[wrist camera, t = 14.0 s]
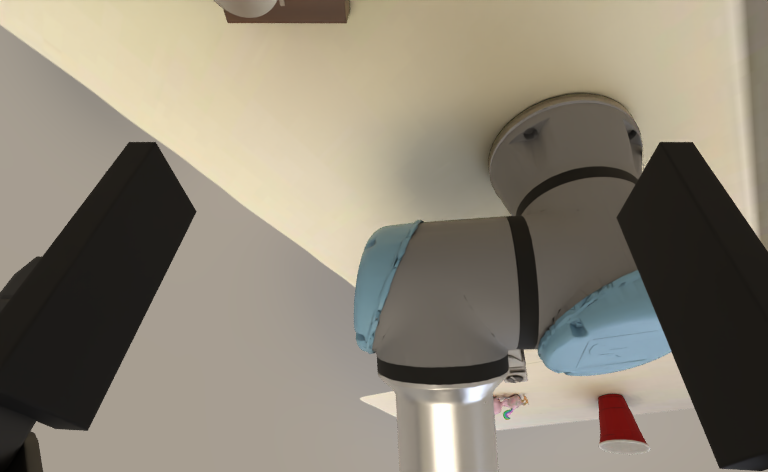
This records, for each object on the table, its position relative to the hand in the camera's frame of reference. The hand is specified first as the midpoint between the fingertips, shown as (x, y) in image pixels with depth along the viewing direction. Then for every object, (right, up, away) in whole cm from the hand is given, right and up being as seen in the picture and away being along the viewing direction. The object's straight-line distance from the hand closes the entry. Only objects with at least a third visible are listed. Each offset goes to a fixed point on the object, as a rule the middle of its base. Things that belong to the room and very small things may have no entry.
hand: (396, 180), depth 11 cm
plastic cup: (+57, -42, +91) cm, 115 cm away
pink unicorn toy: (+30, -45, +96) cm, 111 cm away
